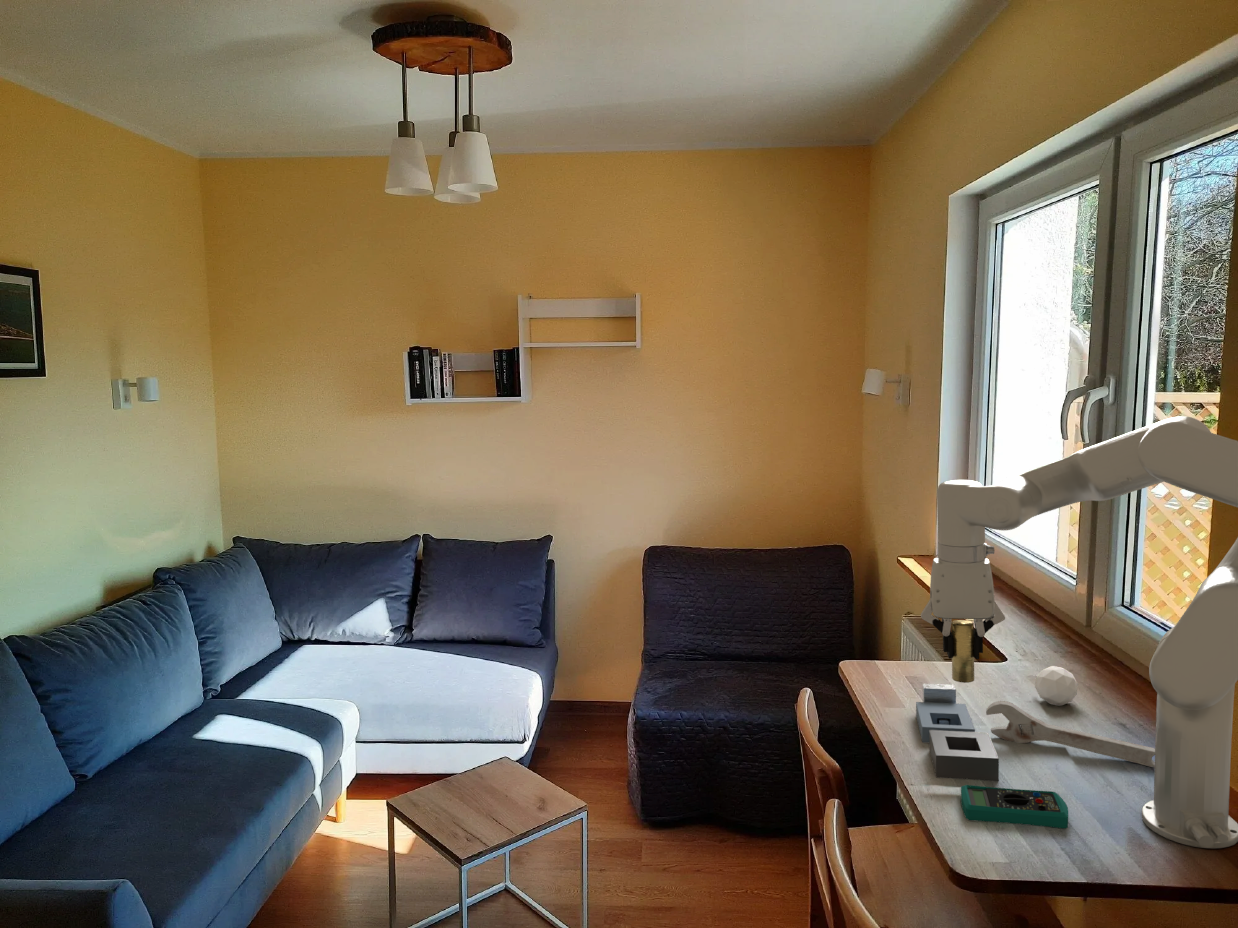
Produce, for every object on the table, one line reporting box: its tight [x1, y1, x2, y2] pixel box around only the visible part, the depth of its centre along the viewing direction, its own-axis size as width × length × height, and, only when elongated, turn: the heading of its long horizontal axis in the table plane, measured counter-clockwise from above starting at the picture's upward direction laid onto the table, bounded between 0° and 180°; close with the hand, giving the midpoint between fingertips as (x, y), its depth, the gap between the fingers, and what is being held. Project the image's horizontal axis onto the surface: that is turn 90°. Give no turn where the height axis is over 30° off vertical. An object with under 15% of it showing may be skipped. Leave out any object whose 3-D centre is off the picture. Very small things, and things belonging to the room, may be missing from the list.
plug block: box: [922, 683, 957, 725], centre depth 172 cm, size 9×6×6 cm
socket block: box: [915, 701, 976, 744], centre depth 167 cm, size 12×9×4 cm
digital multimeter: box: [960, 784, 1069, 829], centre depth 140 cm, size 8×15×3 cm, turn 75°
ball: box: [1034, 665, 1079, 707], centre depth 179 cm, size 8×8×8 cm
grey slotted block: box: [929, 730, 1000, 782], centre depth 153 cm, size 10×10×5 cm
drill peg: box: [950, 619, 975, 684], centre depth 151 cm, size 4×4×10 cm
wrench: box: [985, 700, 1155, 768], centre depth 157 cm, size 8×2×30 cm
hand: (962, 655), depth 151 cm, fingers closed on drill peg, 3 cm apart
